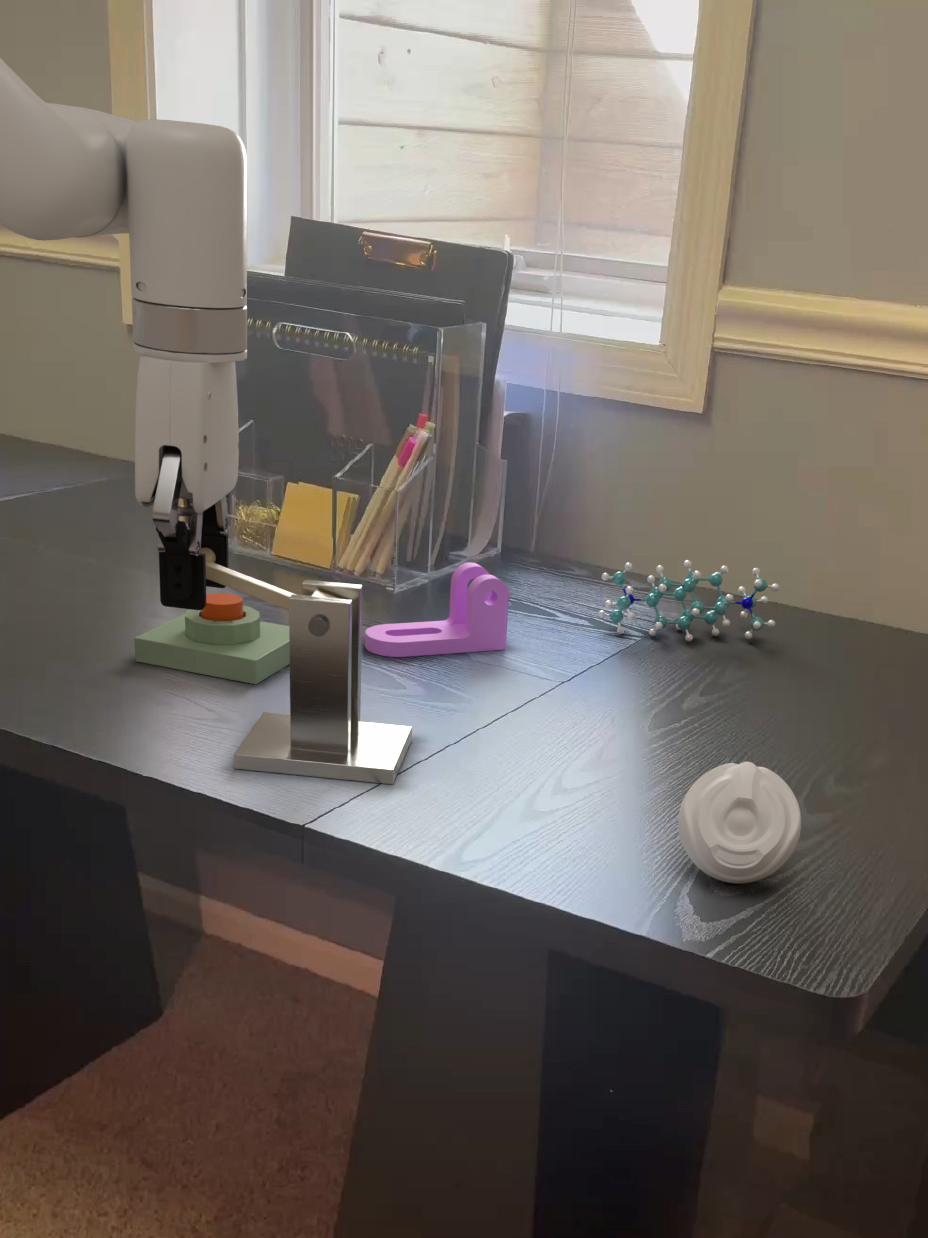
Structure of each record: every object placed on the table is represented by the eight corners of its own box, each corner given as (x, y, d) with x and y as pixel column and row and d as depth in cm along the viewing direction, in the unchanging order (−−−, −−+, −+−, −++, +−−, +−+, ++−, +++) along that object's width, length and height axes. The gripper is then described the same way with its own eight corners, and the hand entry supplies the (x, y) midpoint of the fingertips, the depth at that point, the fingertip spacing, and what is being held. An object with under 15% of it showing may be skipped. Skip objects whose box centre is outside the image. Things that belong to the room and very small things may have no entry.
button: (194, 620, 122) (193, 600, 121) (214, 609, 125) (214, 590, 124) (230, 626, 121) (229, 606, 120) (250, 615, 124) (249, 596, 123)
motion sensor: (667, 892, 90) (682, 784, 86) (675, 843, 96) (689, 740, 93) (791, 909, 89) (811, 800, 85) (789, 859, 95) (809, 755, 92)
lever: (172, 586, 99) (180, 555, 97) (193, 568, 103) (201, 538, 102) (332, 647, 100) (342, 617, 98) (346, 627, 104) (355, 597, 103)
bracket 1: (233, 769, 103) (228, 600, 97) (264, 725, 111) (260, 567, 104) (393, 784, 102) (397, 616, 96) (411, 740, 110) (417, 582, 104)
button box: (135, 661, 122) (132, 617, 120) (194, 631, 130) (192, 589, 128) (256, 684, 119) (255, 640, 117) (308, 652, 127) (308, 610, 125)
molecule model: (592, 620, 142) (598, 550, 138) (758, 626, 144) (769, 557, 140) (604, 646, 135) (611, 572, 131) (779, 651, 137) (791, 579, 133)
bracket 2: (483, 631, 136) (487, 561, 133) (505, 649, 132) (510, 577, 128) (357, 640, 131) (358, 567, 128) (376, 658, 127) (377, 584, 123)
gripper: (174, 313, 100) (180, 561, 109) (90, 339, 85) (104, 624, 94) (275, 324, 100) (273, 572, 109) (209, 352, 85) (212, 637, 94)
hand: (195, 593), depth 101 cm, fingers closed on lever, 5 cm apart
